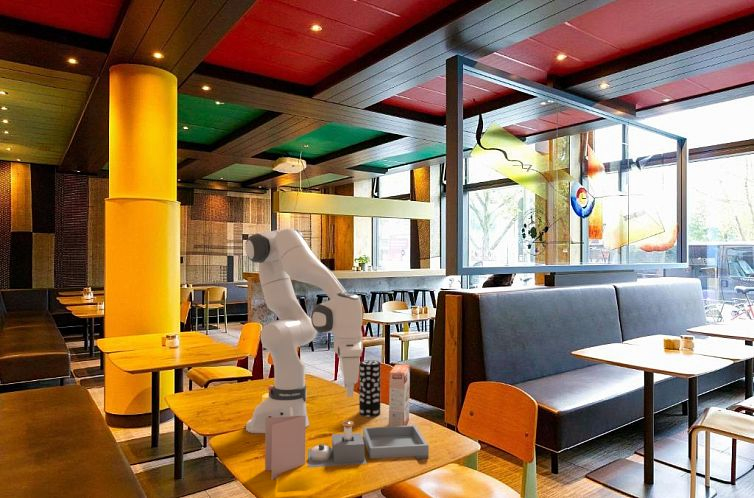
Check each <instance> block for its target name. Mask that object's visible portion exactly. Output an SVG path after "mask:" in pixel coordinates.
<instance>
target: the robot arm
mask: <svg viewBox="0 0 754 498" xmlns="http://www.w3.org/2000/svg"><path fill="white" fill-rule="evenodd" d="M305 240H306V239H305V236H304V235H303V233H302V232H301V231H300V230H299V229H294V228H284V229H275V230H272V231H271V230H270V231H266V232H262V233H255V234H252V235H250V236H249V237H247V239H246V242H245V253H246V256H247V258H248V259H249V260H250V261H251V262H252V263H255V264H256V263H257V264H258V277H259V282H260V285H261V291H262V293H263V298H264V301H265V304H266V307H267V308H268V309H269V310H270V311H271V312H273V313H274V314H275V316H277V318H278V319H277V320H273V321H271V322H270V323H267V324H266V325H264V327H263V328H262V329H261V332H260V341H261V344H262V345H263V347H264V349H266V350H267V351H268V352H269V354H270V356H271V358H272V362H273V363H272V364H273V368H274V369H273V370H274V372H273V373H274V385H273V384H270V385H269V386H268V387H267V388H268V389H267V390H268V397H267V398H265V399H264V400H263V401H262V402H260V403H259V404H257V406H256V407H255V409H254V411H253V414H252V418H250V419H249V420H248V421H246V425H245V430H246V432H247V431H248V432H247V433H249V432H250V433H249V434H265V426H266V418H269V417H289V416H306V420H305V428H307V427H308V426H309V425H310V422H309V417H308V414H307V413H308V412H307V406H306V405H307V404H306V401H307V385H306V364H305V362H304V361H303V360H301V359H300V357H299V355H298V349H297V348H298V347H301V346H305V345H307V344H309V343H311V342H312V341H313V340H315V339H316V337H317V335H318V333H322V334H330V333H331V334H332V333H333V352H334V353H335V354H336V355H337V358H338V359H340V361H339V365H340V368H339V369H340V371H341V374H342V377H343V386H344V388H345V389H346V396H347V397H353V396H354V389H355V384H358V382H359V377H360V362H361V361H360V360H361V359H360V358H361V357H362V353H363V350H364V349H363V345H364V344H363V341H364V340H363V336H364V335H363V332H362V325H363V320H364V310H363V307H362V301H361V298H360V296H359V295H358V294H356V293H352V292H348V291H347V290H346V289H345V288H344V286H343V285H342V284H341V282H340V281H339V280H338V277H336V275H335V274H334V273H333V272H332V271H331V269H329V267H328V266H326V265H325V264H323V263H322V262H321V261H320V260H319V258H317V257H316V255H315V254H314V253H313V252H312V249H310V247H309V245H308V243H307V242H306V241H305ZM291 279H292V280H294V281H297V282H300V283H304V284H305V283H306V284H310V285H312V286H316V287H317V288H319V289H321V290H322V291H324V293H325V294H326V296H327V297H328V298H329V300H327V301H324V302H322V303H318V304H316V305H315V306H314V307H313V309H312V311H311V315H310V316H308V315H307V313H306V312H305V310H304V309H303V308H302V306H301V305H300V303H299V301H298V298H297V295H296V293H295V289H294V287H293V284H292V283H293V282H292V280H291Z"/></svg>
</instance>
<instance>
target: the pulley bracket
mask: <svg viewBox="0 0 754 498" xmlns="http://www.w3.org/2000/svg"><path fill="white" fill-rule="evenodd" d="M331 441H332V442H331V446H329V445H326V444H323V443H320V444H318V445H315V446H313V447H312V448H311V449H307V468H319V467H320V468H321V467H337V466H339V467H340V466H353V465H354V466H355V465H367V460H366V457H365V441H364V438H363V434H362V433H361V432H355V433H353V432H352V441H346V442H344V433H336V434H333V433H332V435H331Z"/></svg>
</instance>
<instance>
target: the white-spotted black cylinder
mask: <svg viewBox="0 0 754 498" xmlns="http://www.w3.org/2000/svg"><path fill="white" fill-rule="evenodd" d="M381 364H382V363H381V361H379V360H371V359H369V360H361V361H360V362H359V391H358V392H359V397H358V398H359V407H358V408H359V409H358V411H359V412H358V413H359V415H360V416H362V417H365V416H366V418H367V417H368V418H373V417H378V416H380V415H381V386H382V385H381V373H382V372H381V370H382V369H381Z"/></svg>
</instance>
